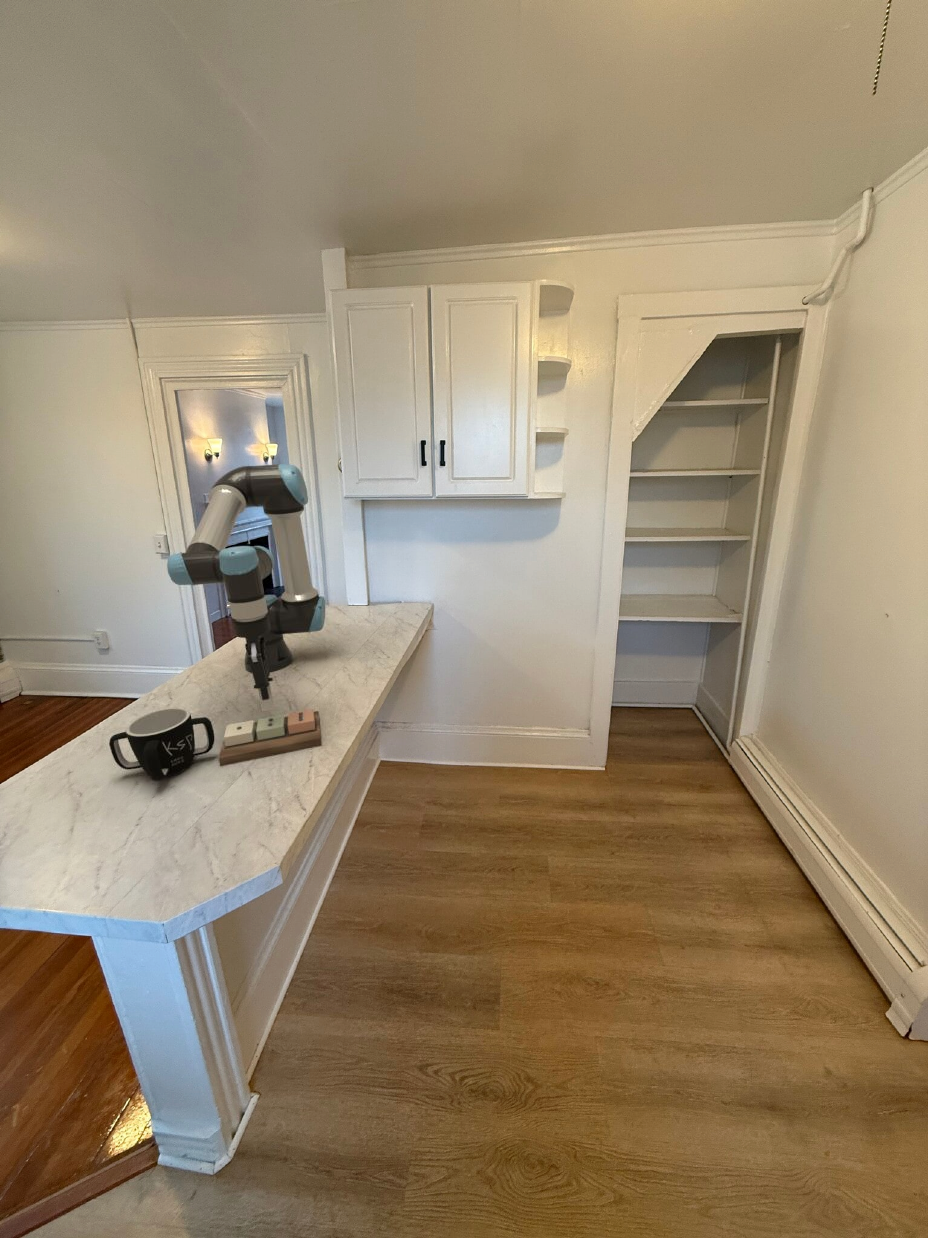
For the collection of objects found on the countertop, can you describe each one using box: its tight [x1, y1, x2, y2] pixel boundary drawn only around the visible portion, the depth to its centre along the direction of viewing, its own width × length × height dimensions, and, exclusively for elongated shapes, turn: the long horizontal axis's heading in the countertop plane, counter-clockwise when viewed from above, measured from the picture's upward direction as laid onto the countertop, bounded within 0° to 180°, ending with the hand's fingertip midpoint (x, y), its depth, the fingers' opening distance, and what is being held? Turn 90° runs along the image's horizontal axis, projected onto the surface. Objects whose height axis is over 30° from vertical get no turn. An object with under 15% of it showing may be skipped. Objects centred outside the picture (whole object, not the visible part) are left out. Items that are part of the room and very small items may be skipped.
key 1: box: [223, 719, 256, 746], centre depth 113 cm, size 6×6×3 cm
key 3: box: [287, 708, 315, 734], centre depth 117 cm, size 6×6×3 cm
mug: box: [109, 707, 215, 782], centre depth 105 cm, size 16×16×12 cm
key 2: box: [256, 714, 286, 740], centre depth 115 cm, size 6×6×3 cm
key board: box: [218, 710, 322, 767], centre depth 116 cm, size 14×22×2 cm, turn 108°
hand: (268, 708), depth 114 cm, fingers closed
